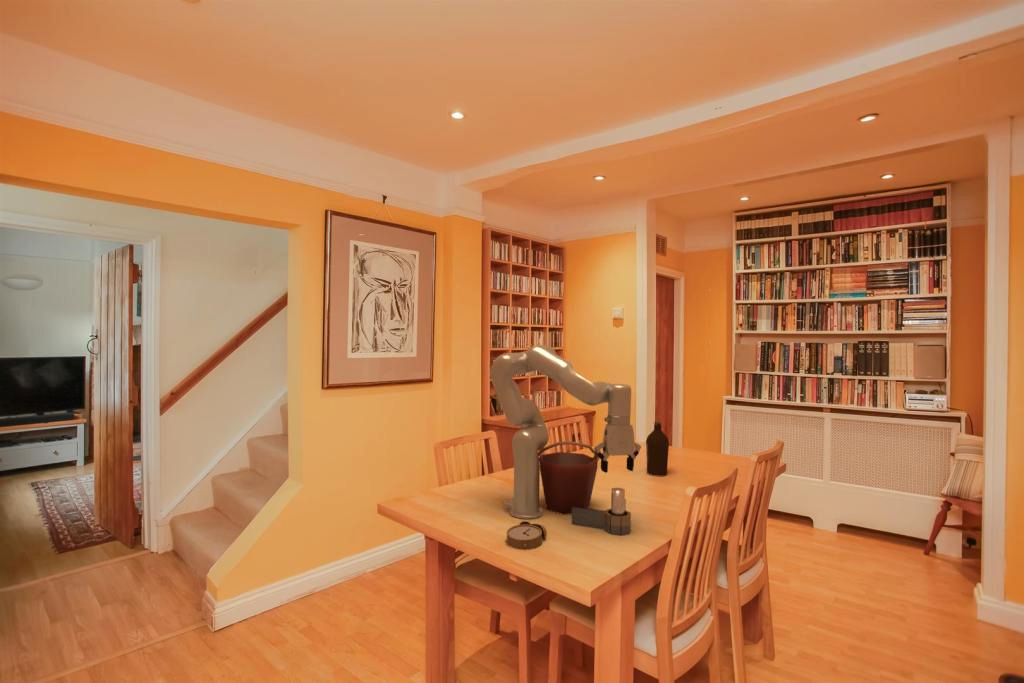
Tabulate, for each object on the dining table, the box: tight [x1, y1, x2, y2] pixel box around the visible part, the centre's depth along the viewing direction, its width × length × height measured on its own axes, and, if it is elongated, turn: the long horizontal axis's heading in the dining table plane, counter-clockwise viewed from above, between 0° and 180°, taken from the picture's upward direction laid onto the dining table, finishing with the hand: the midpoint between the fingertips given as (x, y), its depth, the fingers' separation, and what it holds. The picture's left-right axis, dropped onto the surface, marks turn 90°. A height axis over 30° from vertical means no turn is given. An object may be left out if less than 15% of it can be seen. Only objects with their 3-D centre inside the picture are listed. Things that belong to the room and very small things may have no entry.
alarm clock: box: [504, 520, 548, 550], centre depth 162 cm, size 11×5×15 cm
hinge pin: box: [610, 487, 626, 516], centre depth 171 cm, size 4×4×14 cm
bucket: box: [538, 441, 600, 515], centre depth 194 cm, size 24×22×25 cm
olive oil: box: [645, 421, 670, 476], centre depth 245 cm, size 11×11×25 cm
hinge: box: [570, 498, 632, 536], centre depth 179 cm, size 20×20×6 cm
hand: (617, 470), depth 172 cm, fingers open, 9 cm apart
